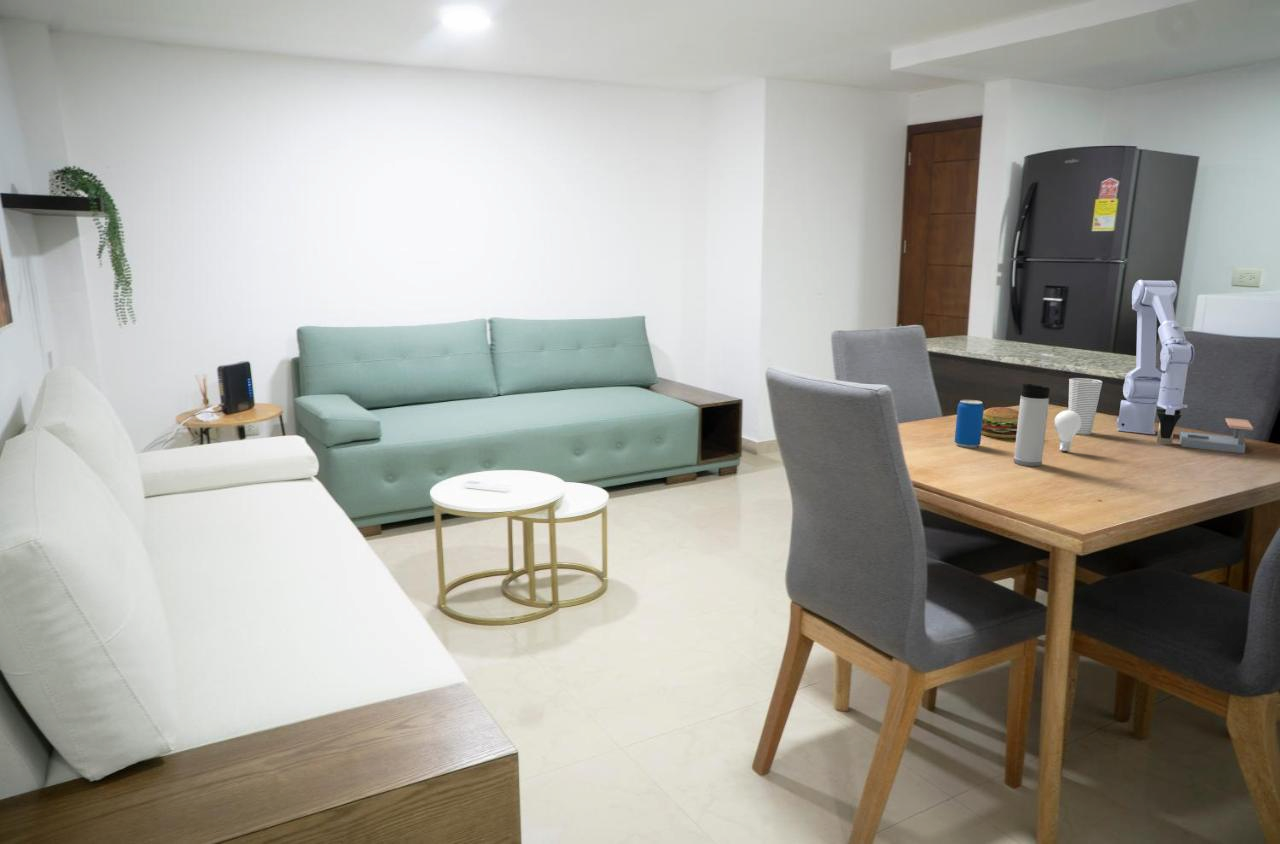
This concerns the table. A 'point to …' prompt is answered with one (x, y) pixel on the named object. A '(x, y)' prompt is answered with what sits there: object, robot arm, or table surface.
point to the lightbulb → (1067, 428)
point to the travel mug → (1031, 425)
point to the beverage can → (969, 423)
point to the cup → (1084, 401)
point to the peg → (1164, 440)
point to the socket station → (1219, 438)
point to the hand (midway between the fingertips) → (1165, 436)
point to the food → (1000, 422)
